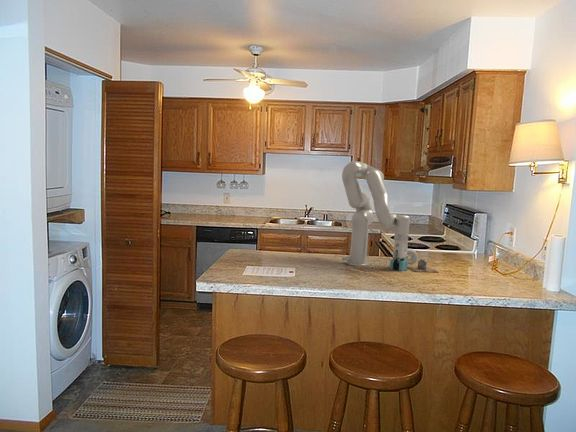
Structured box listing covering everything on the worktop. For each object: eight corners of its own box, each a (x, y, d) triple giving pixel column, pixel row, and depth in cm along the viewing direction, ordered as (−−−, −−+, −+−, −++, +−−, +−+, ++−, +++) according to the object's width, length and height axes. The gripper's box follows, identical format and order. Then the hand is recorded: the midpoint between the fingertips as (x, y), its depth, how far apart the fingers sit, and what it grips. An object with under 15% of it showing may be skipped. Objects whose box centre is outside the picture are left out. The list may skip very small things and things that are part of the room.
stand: (393, 272, 239) (394, 262, 238) (386, 268, 249) (387, 258, 248) (410, 273, 241) (411, 262, 240) (402, 269, 250) (403, 258, 250)
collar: (402, 271, 239) (402, 262, 239) (389, 268, 244) (390, 260, 243) (406, 269, 245) (407, 260, 245) (394, 267, 249) (395, 258, 249)
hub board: (414, 273, 240) (415, 261, 239) (405, 268, 252) (406, 256, 251) (438, 274, 242) (439, 262, 242) (427, 269, 254) (429, 257, 253)
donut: (415, 264, 265) (417, 248, 264) (417, 266, 262) (419, 249, 261) (399, 263, 265) (400, 247, 264) (400, 265, 262) (402, 248, 261)
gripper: (402, 239, 233) (398, 272, 235) (413, 237, 248) (410, 267, 249) (388, 237, 238) (385, 269, 240) (400, 235, 252) (397, 265, 254)
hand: (398, 268), depth 244 cm, fingers closed on collar, 7 cm apart
